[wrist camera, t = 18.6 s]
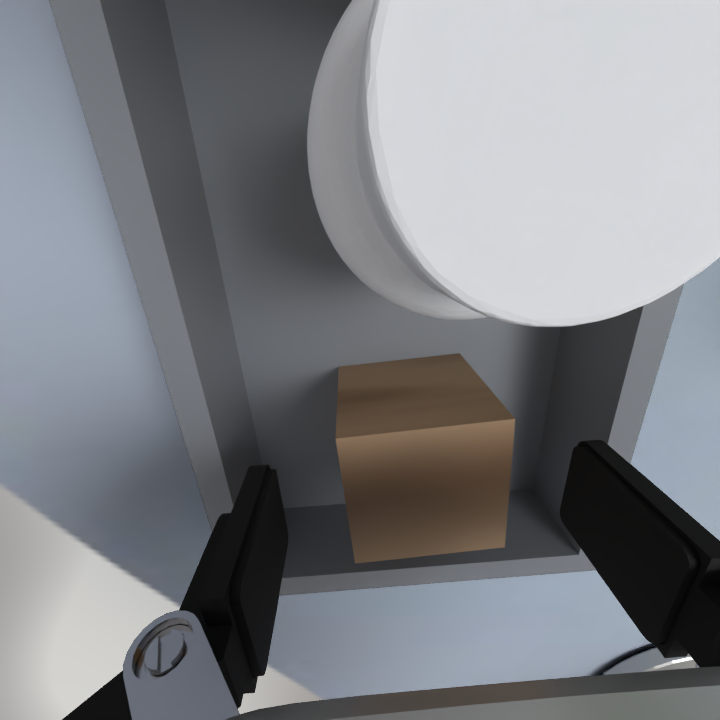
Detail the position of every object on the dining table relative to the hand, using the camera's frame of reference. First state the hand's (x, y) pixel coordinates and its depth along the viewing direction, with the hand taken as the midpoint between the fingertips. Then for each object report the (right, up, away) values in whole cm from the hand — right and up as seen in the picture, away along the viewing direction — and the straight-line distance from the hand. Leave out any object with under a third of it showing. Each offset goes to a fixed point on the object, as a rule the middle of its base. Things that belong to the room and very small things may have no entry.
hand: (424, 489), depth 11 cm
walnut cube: (0, +2, +4) cm, 5 cm away
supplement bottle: (0, +10, +1) cm, 10 cm away
